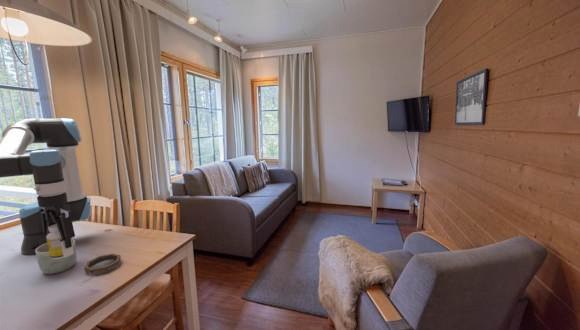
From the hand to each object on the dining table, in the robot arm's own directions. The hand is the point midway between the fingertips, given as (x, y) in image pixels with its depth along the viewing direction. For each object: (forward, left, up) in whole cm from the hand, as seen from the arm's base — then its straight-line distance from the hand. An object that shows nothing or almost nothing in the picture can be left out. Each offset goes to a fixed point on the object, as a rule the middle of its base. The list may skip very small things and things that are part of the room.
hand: (62, 253), depth 90 cm
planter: (-20, +8, -15) cm, 26 cm away
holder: (-3, +15, -15) cm, 21 cm away
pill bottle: (0, 0, -1) cm, 1 cm away
